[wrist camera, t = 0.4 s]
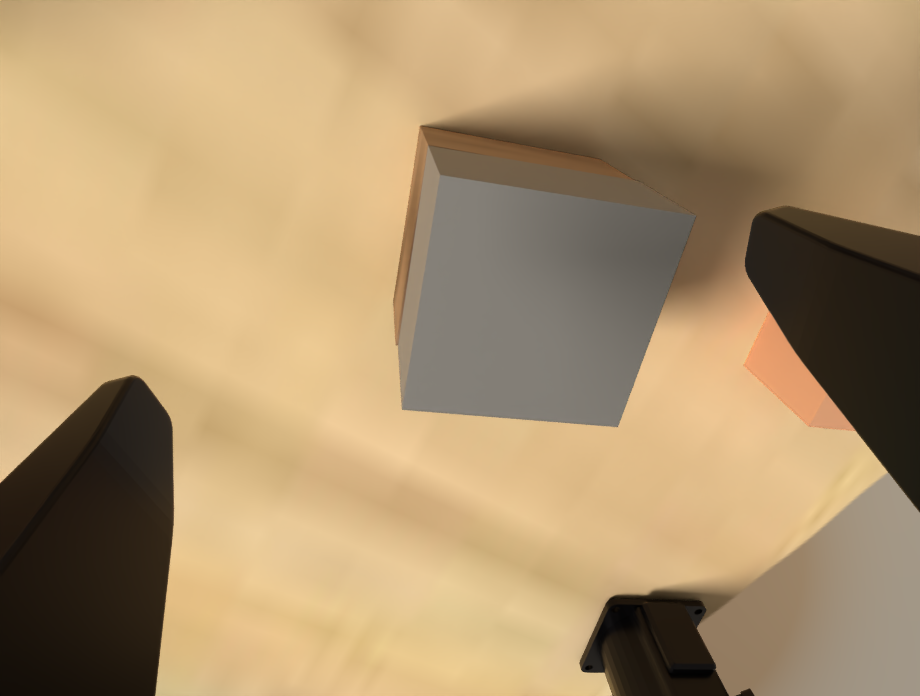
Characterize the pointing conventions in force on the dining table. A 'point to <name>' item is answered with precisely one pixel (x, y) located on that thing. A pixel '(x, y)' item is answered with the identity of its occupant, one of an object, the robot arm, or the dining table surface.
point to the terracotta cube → (792, 379)
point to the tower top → (533, 289)
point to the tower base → (484, 148)
